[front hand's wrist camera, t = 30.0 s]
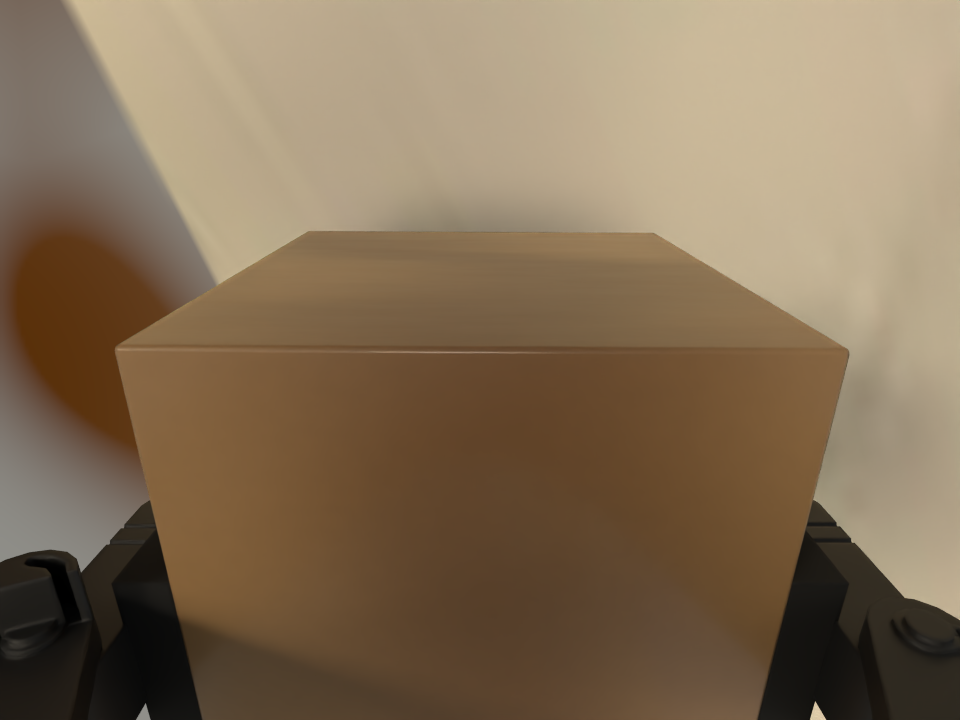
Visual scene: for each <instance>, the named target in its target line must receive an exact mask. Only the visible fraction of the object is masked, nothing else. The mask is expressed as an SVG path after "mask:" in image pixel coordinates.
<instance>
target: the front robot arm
mask: <svg viewBox="0 0 960 720" xmlns="http://www.w3.org/2000/svg"><path fill="white" fill-rule="evenodd" d="M815 701H816V703H817V705H818V706H819V708H820V710H821V711H822V713H823V715H824V717H825V718H826V720H960V620H959V619H957V618H955V617H953V616H952V615H950V614H948V613H946V612H944V611H943V610H941V609H939V608H937V607H934V606H931V605H929V604H926V603H923V602H920V601H917V600H914V599H907V598H904V597H903V596H902V595H901V593H900V592H899V591H898V590H897V589H896V588H895V587H894V586H893V585H892V583H891V582H890V581H889V580H888V579H887V578H886V577H885V576H884V575H883V574H882V572H881V571H880V570H879V569H878V568H877V567H876V566H875V565H874V564H873V562H872V561H871V560H870V559H869V558H868V557H867V556H866V555H865V554H864V553H863V551H862V550H861V549H860V548H859V547H858V546H857V545H856V544H855V543H852V542H851V538H850V537H849V536H848V535H847V534H846V533H845V532H844V530H843V529H842V528H841V527H837V524H836V522H835V520H834V519H833V518H832V517H831V516H830V515H829V514H828V513H827V512H826V511H825V509H824V508H823V507H822V506H821V505H820V504H819V503H817V502H816V501H814V500H813V501H812V505H811V509H810V513H809V517H808V521H807V525H806V529H805V533H804V537H803V541H802V545H801V549H800V553H799V557H798V561H797V565H796V569H795V573H794V577H793V581H792V585H791V589H790V593H789V597H788V601H787V605H786V609H785V613H784V617H783V621H782V625H781V629H780V633H779V637H778V641H777V644H776V648H775V652H774V656H773V660H772V664H771V668H770V672H769V676H768V680H767V684H766V688H765V692H764V696H763V700H762V704H761V708H760V712H759V716H758V720H810V717H811V714H812V710H813V707H814V703H815ZM145 703H146V705H147V709H148V712H149V715H150V719H151V720H202V717H201V713H200V708H199V704H198V700H197V696H196V691H195V687H194V683H193V679H192V675H191V670H190V666H189V662H188V658H187V654H186V649H185V645H184V641H183V637H182V632H181V628H180V624H179V620H178V616H177V611H176V607H175V603H174V599H173V594H172V590H171V586H170V582H169V578H168V573H167V569H166V565H165V561H164V557H163V552H162V548H161V544H160V540H159V535H158V531H157V527H156V523H155V519H154V514H153V510H152V506H151V502H150V501H148V502H146V503H145V504H143V505H142V506H141V507H140V508H139V509H138V510H137V511H136V512H135V514H134V515H133V516H132V517H131V518H130V519H129V520H128V521H127V522H126V523H125V526H124V528H122V529H120V530H119V531H118V532H117V533H116V535H115V536H114V537H113V538H112V539H111V540H110V544H109V545H106V546H105V547H104V548H103V549H102V550H101V551H100V552H99V554H98V555H97V556H96V557H95V558H94V559H93V560H92V561H91V562H90V564H89V565H88V566H87V567H86V568H85V569H84V570H83V571H82V572H80V568H79V565H78V562H77V559H76V558H75V557H73V556H72V555H71V554H69V553H68V552H64V551H56V550H45V551H37V552H29V553H26V554H23V555H20V556H16V557H13V558H10V559H7V560H4V561H2V562H0V720H136V719H137V717H138V715H139V714H140V712H141V710H142V708H143V707H144V705H145Z"/></svg>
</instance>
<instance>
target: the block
mask: <svg viewBox="0 0 960 720" xmlns="http://www.w3.org/2000/svg"><path fill="white" fill-rule="evenodd" d="M115 354H116V358H117V363H118V367H119V371H120V375H121V379H122V384H123V388H124V392H125V396H126V400H127V405H128V409H129V413H130V417H131V422H132V426H133V430H134V434H135V438H136V443H137V447H138V451H139V455H140V459H141V464H142V468H143V472H144V476H145V481H146V485H147V489H148V493H149V497H150V502H151V506H152V510H153V514H154V519H155V523H156V527H157V531H158V535H159V540H160V544H161V548H162V552H163V557H164V561H165V565H166V569H167V573H168V578H169V582H170V586H171V590H172V594H173V599H174V603H175V607H176V611H177V616H178V620H179V624H180V628H181V632H182V637H183V641H184V645H185V649H186V654H187V658H188V662H189V666H190V670H191V675H192V679H193V683H194V687H195V691H196V696H197V700H198V704H199V708H200V713H201V717H202V720H758V716H759V712H760V708H761V704H762V700H763V696H764V692H765V688H766V684H767V680H768V676H769V672H770V668H771V664H772V660H773V656H774V652H775V648H776V644H777V641H778V637H779V633H780V629H781V625H782V621H783V617H784V613H785V609H786V605H787V601H788V597H789V593H790V589H791V585H792V581H793V577H794V573H795V569H796V565H797V561H798V557H799V553H800V549H801V545H802V541H803V537H804V533H805V529H806V525H807V521H808V517H809V513H810V509H811V505H812V501H813V497H814V493H815V489H816V486H817V482H818V478H819V474H820V470H821V466H822V462H823V458H824V454H825V450H826V446H827V442H828V438H829V434H830V430H831V426H832V422H833V418H834V414H835V410H836V406H837V402H838V398H839V394H840V390H841V386H842V382H843V378H844V374H845V370H846V366H847V362H848V358H849V351H848V349H847V348H845V347H843V346H842V345H840V344H838V343H837V342H835V341H833V340H832V339H830V338H828V337H827V336H825V335H823V334H821V333H820V332H818V331H816V330H815V329H813V328H811V327H810V326H808V325H806V324H805V323H803V322H801V321H800V320H798V319H796V318H795V317H793V316H791V315H790V314H788V313H786V312H785V311H783V310H781V309H780V308H778V307H776V306H775V305H773V304H771V303H770V302H768V301H766V300H765V299H763V298H761V297H760V296H758V295H756V294H755V293H753V292H751V291H750V290H748V289H746V288H745V287H743V286H741V285H740V284H738V283H736V282H735V281H733V280H731V279H730V278H728V277H726V276H725V275H723V274H721V273H720V272H718V271H716V270H715V269H713V268H711V267H710V266H708V265H706V264H705V263H703V262H701V261H700V260H698V259H696V258H695V257H693V256H691V255H690V254H688V253H686V252H685V251H683V250H681V249H680V248H678V247H676V246H675V245H673V244H671V243H670V242H668V241H666V240H665V239H663V238H661V237H660V236H658V235H656V234H654V233H555V232H365V231H308V232H306V233H305V234H303V235H301V236H300V237H298V238H296V239H295V240H293V241H291V242H290V243H288V244H286V245H285V246H283V247H281V248H280V249H278V250H276V251H275V252H273V253H271V254H269V255H268V256H266V257H264V258H263V259H261V260H259V261H258V262H256V263H254V264H253V265H251V266H249V267H248V268H246V269H244V270H243V271H241V272H239V273H238V274H236V275H234V276H233V277H231V278H229V279H227V280H226V281H224V282H222V283H221V284H219V285H217V286H216V287H214V288H212V289H211V290H209V291H207V292H206V293H204V294H202V295H201V296H199V297H197V298H196V299H194V300H192V301H191V302H189V303H187V304H185V305H184V306H182V307H180V308H179V309H177V310H175V311H174V312H172V313H170V314H169V315H167V316H165V317H164V318H162V319H160V320H159V321H157V322H155V323H154V324H152V325H150V326H149V327H147V328H145V329H144V330H142V331H140V332H138V333H137V334H135V335H133V336H132V337H130V338H128V339H127V340H125V341H124V342H122V343H120V344H118V345H117V346H116V347H115Z"/></svg>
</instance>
